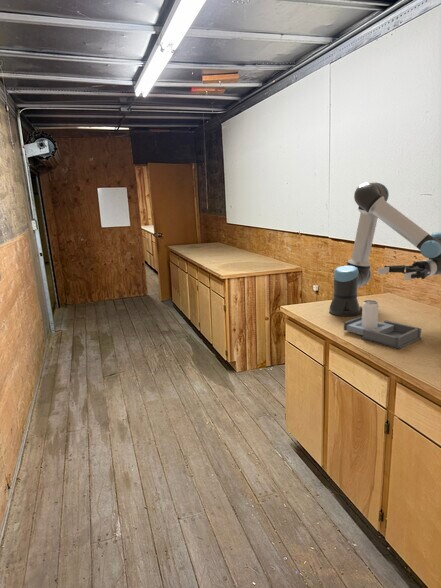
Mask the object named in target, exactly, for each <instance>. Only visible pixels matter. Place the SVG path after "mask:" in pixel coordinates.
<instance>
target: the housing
mask: <svg viewBox="0 0 441 588" xmlns="http://www.w3.org/2000/svg"><path fill="white" fill-rule="evenodd" d="M383 323H387V324H391V325H394V331H392V332H390V333H388V334H384V333H380V332H376V331H372V330H369V329H363V335H362V336H361V340H363V341H367V342H369V343H373V344H377V345H381V346H384V347H387V348H390V349H391V348H392V349H393V350H394V349H395V350H397V351H398V350H401V349H403V348H406V347H407V346H409V345H411V344H413V343H415V342H417V341H419V340H421V336H422V328H420V327H417V326H412V325H408V324H404V323H399V322H394V321H390V320H387V319H386V320H384V321H383Z"/></svg>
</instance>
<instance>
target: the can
mask: <svg viewBox="0 0 441 588" xmlns="http://www.w3.org/2000/svg"><path fill="white" fill-rule="evenodd" d="M378 303H379V301H376V300H371V299H368V300H367V299H366V300H364V301H363V303H362V308H361V311H362V312H361V313H362V314H361V316H362V327H365V328H369V329H372V330H375V329H377V325H378V321H379V309H380V308H379V307H380V306H379V304H378Z"/></svg>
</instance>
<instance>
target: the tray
mask: <svg viewBox="0 0 441 588" xmlns="http://www.w3.org/2000/svg"><path fill="white" fill-rule="evenodd" d="M363 329H369V328H365V327H362V315H361V316H358V317H355V318H352V319H349V320H347V321H344V322H343V330H344V331H346V332H351V333H354V334H357V335H361V336H363ZM369 330H372V329H369ZM372 331H376V332H380V333H384V334H388V333H390V332H392V331H394V325H391V324H387V323H384V321H383V322H382V321H379V320H378V325H377V329H375V330H372Z"/></svg>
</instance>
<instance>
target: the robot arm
mask: <svg viewBox="0 0 441 588" xmlns="http://www.w3.org/2000/svg"><path fill="white" fill-rule="evenodd" d="M353 196H354V197H353V198H354V202H355V204H356V205H357V207H358V208H357V210H358V212H359V219H358V223H357V228H356V229H357V230H356V234H355V239H354V243H353V248H352V253H351V258H350V259H348V260H347V262H346V263H347V264H346V265H343V266H341V265H340V266H337V267H336V268H335V269H334V273H333V296H332V300H331V303H330V306H329V308H328V309H329V313H330V314H332V315H335V316H339V317H355V316H359V315H360V314H361V307H360V304H359V300H358V289H359V288H361V287H364V286H365V285H367V284H368V282H369V281H370V279H371V276H372V272H371V271H372V270H370V269H371V265H372V264H371V263H370V261H369V260H370V259H369V258H370V254H371V250H372V247H373V246H372V245H373V240H374V236H375V232H376V227H377V224H378V219H379V220H381V221H382V222H383V223H385V224H386V225H387V226H388V227H389V228H391V229H392V230H393V231H395V232H396V233H397V234H398V235H400V236H401V237H402V238H404V239H405V240H406V241H407V242H409V243H410V244H411V245H413V247H415V248H417V250H419V252H420V254H421V255H422V256H423V257H424V258H426V259H424V260H417V261H414V262H413V263H412V264H411V265H410V264H409V265H405V264H402V265H401V264H400V265H384V266H383V267H379V268H377V273H376V274H377V275H384V274H386V275H388V274H389V273H400V274H401V273H402V274H403V281H408V280H415V279H421V280H425V279H426V278H429V277H431V276H432V277H433V276H437V275H439V276H440V275H441V232H440V231H439V232H436V231H435V232H432V233H431V234H430V233H428V232H427V231H426V230H425V229H423V228H422V227H420V226H419V225H418V224H417V223H416V222H414V221H413V220H411V219H410V218H409V217H408V216H406V215H405V214H403V213H402V212H401V211H399V210H398V209H397V208H395V207H394V206H393V205H391V204H390V203H389V202H387V201H388V199H389V196H390V195H389V189H388V188H387V187H386V185H384V184H383V183H379V182H364V183H362V184H360V185H359V186H358V187H356V189H355V191H354V195H353Z"/></svg>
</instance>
